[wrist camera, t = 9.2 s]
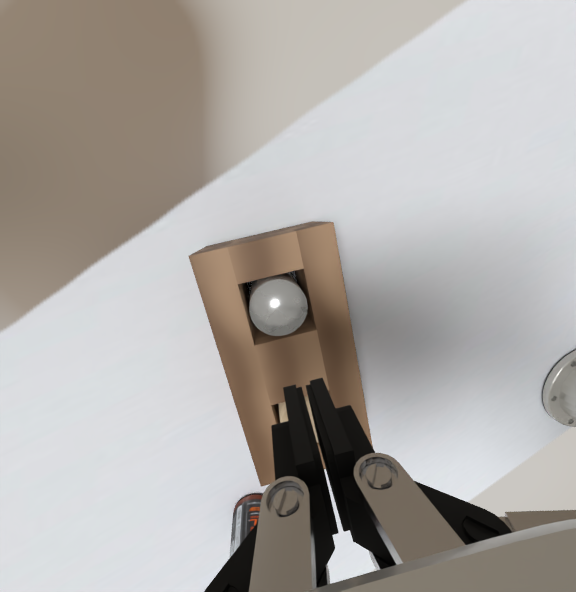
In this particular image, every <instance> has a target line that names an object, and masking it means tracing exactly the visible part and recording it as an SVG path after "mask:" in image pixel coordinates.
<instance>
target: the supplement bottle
mask: <svg viewBox="0 0 576 592" xmlns="http://www.w3.org/2000/svg"><path fill="white" fill-rule="evenodd" d="M262 496H263V495H257V494H255V495H249V496H246V497H244V498H243V499H241V500H240V501H239V502H238V503H237V504H236V506H235V509H234V513H233V523H232V535H231V548H230V557H231V556H232V555H233V553H234V552H235V551H236V550H237V548H238V547H239V546H240V544H241V543H242V542H243V540H244V539H245V538H246V537H247V535H248V534H249V533H250V531H251V530H252V529H253V527H254V526H255V525H256V524H257V522H258V520H259V513H260V505H261V499H262Z"/></svg>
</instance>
